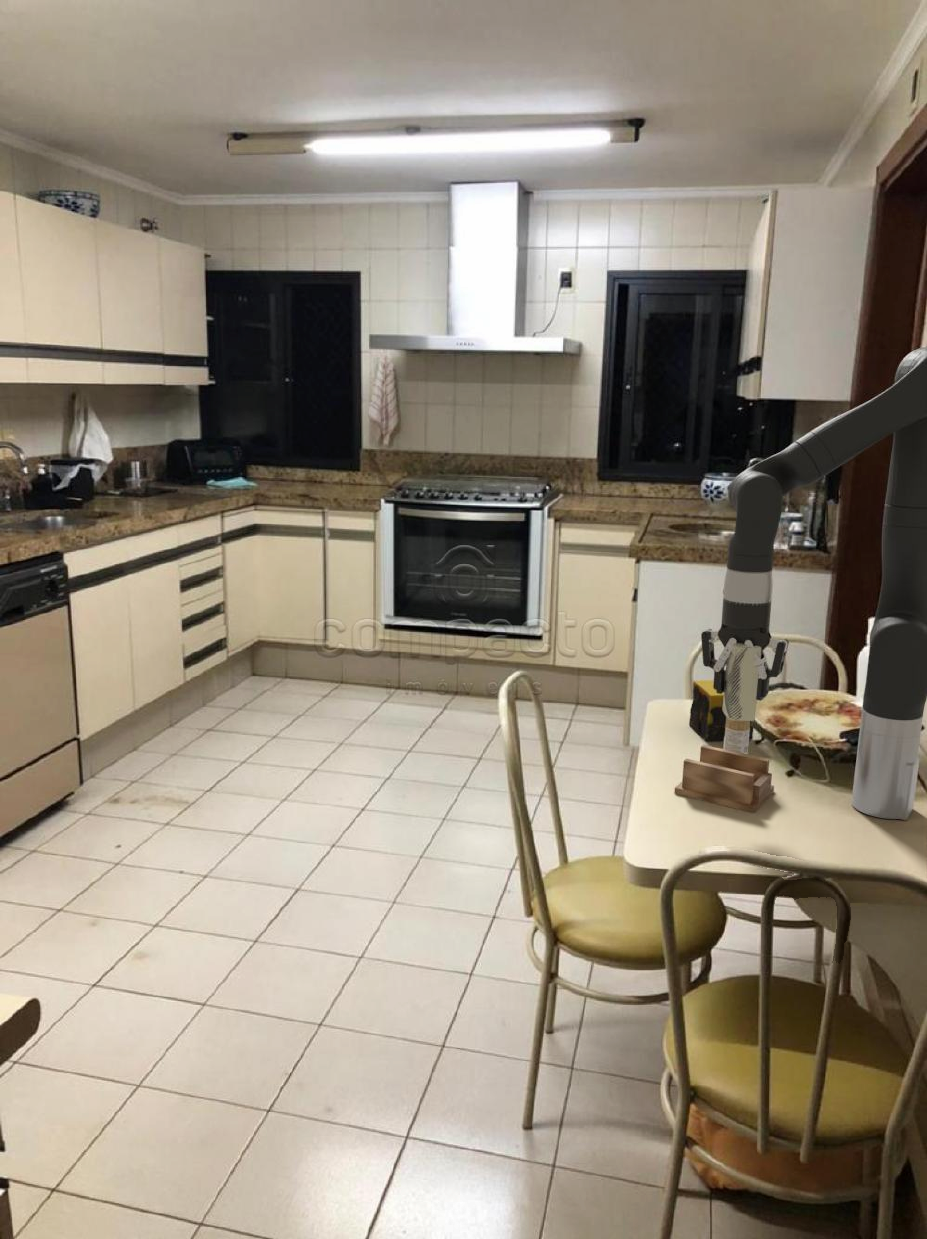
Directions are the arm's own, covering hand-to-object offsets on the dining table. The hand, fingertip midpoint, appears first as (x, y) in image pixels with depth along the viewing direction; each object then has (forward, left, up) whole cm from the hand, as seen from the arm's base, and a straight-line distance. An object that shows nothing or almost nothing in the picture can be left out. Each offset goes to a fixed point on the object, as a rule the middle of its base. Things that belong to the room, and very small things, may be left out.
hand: (740, 695), depth 159 cm
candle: (+14, -33, -20) cm, 41 cm away
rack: (+3, -4, -19) cm, 20 cm away
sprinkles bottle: (+5, -15, -20) cm, 25 cm away
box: (0, 0, -4) cm, 4 cm away
